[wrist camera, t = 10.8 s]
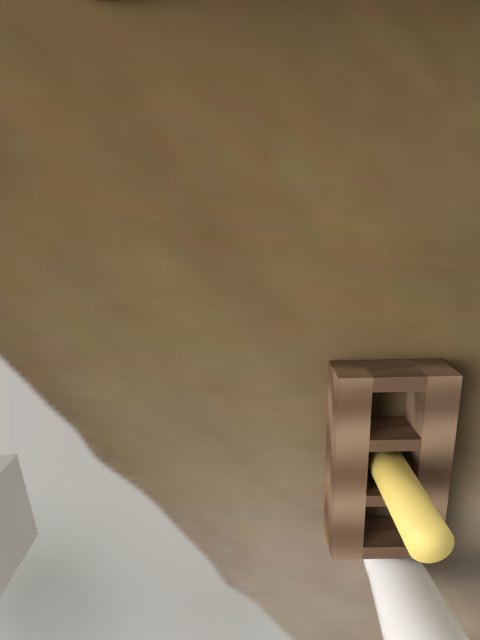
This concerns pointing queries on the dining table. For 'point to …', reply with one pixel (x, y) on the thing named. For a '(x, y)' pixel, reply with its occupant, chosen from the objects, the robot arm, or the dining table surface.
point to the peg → (411, 508)
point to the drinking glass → (410, 602)
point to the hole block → (385, 447)
